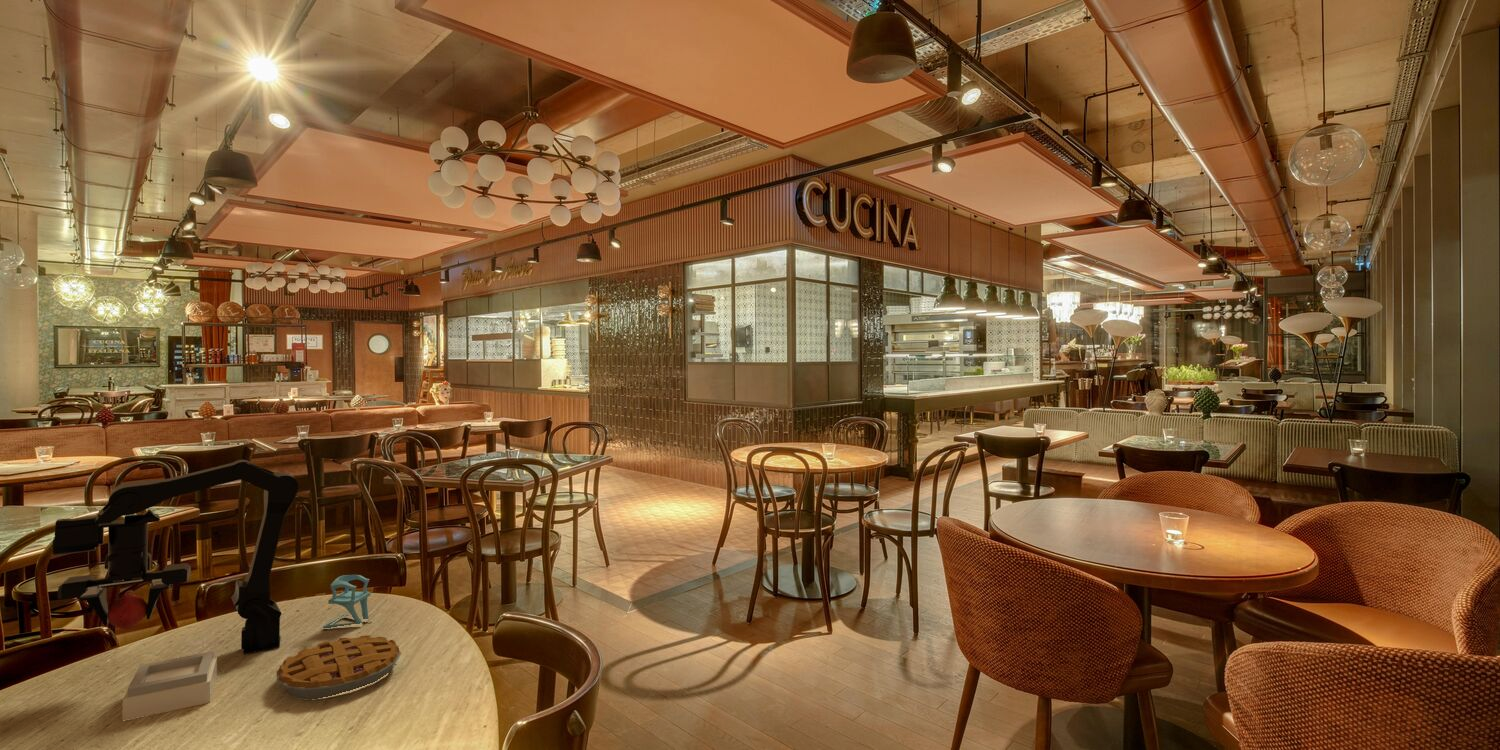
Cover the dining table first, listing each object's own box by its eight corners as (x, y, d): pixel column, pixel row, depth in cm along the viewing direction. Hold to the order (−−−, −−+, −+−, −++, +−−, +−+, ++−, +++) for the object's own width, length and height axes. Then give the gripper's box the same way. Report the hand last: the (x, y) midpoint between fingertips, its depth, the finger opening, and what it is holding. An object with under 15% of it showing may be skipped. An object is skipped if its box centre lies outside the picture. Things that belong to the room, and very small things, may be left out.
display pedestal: (216, 676, 130) (217, 649, 130) (209, 702, 121) (210, 673, 121) (136, 692, 123) (137, 664, 123) (122, 721, 114) (122, 691, 114)
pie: (415, 677, 133) (416, 653, 132) (289, 718, 117) (289, 691, 116) (381, 643, 147) (381, 622, 147) (264, 676, 131) (265, 652, 131)
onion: (121, 637, 125) (122, 597, 125) (99, 634, 127) (99, 594, 126) (154, 625, 131) (155, 587, 131) (133, 622, 132) (133, 584, 132)
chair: (356, 631, 153) (357, 582, 153) (322, 630, 154) (323, 581, 153) (375, 618, 161) (376, 572, 161) (342, 617, 161) (344, 570, 161)
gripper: (194, 530, 140) (194, 600, 141) (74, 542, 130) (74, 618, 130) (186, 543, 131) (186, 617, 132) (57, 557, 121) (56, 638, 121)
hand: (127, 621), depth 129 cm, fingers closed on onion, 6 cm apart
